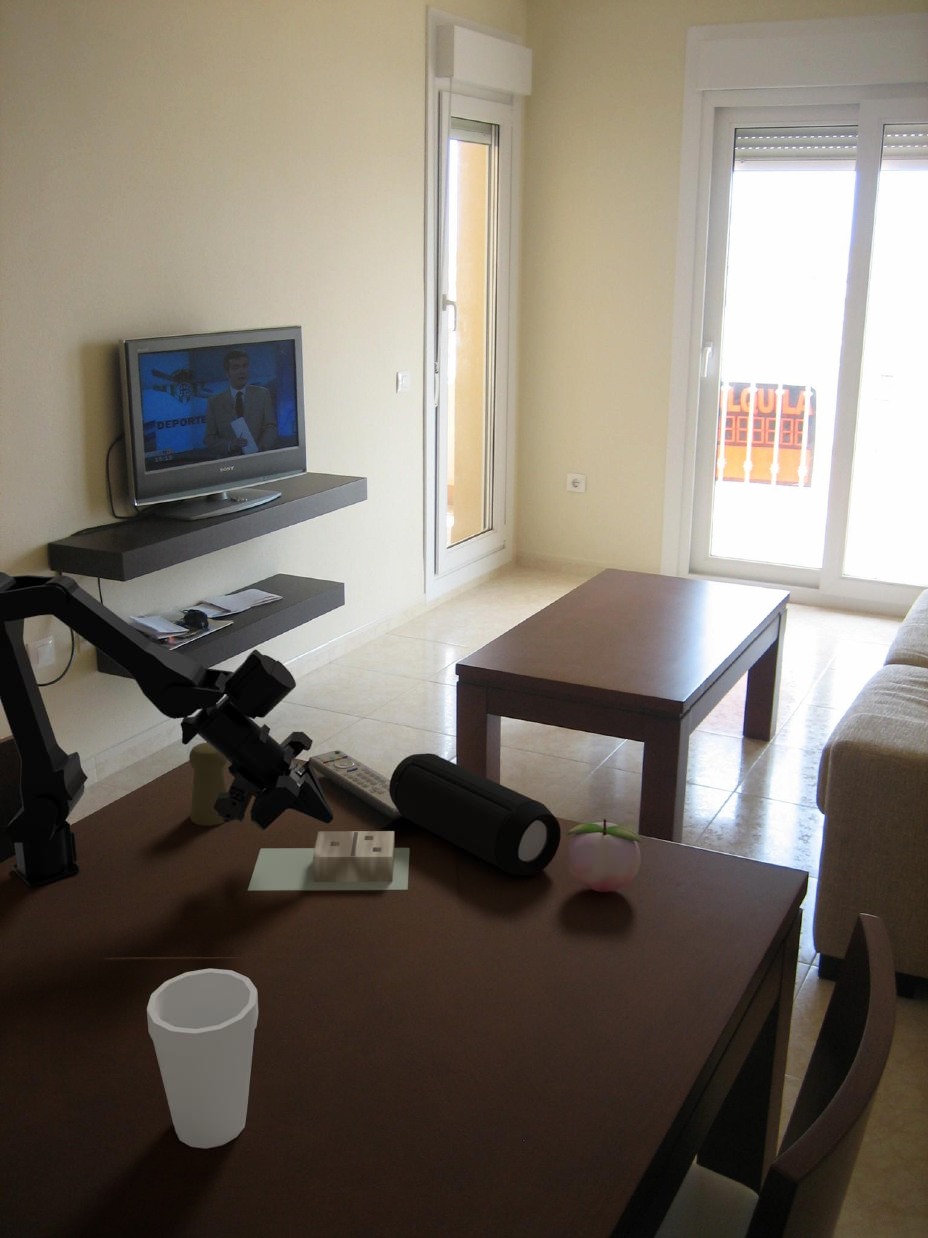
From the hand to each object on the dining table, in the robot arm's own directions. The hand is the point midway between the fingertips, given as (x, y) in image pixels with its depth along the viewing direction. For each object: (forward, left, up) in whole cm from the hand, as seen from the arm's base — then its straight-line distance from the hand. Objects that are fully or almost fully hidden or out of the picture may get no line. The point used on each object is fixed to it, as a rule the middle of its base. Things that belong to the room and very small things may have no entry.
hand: (331, 820), depth 147 cm
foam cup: (-35, -31, -7) cm, 48 cm away
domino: (-2, +1, -5) cm, 6 cm away
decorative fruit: (+23, -26, -7) cm, 36 cm away
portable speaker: (+19, -6, -7) cm, 21 cm away
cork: (-4, +24, -7) cm, 25 cm away
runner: (0, 0, -7) cm, 7 cm away
